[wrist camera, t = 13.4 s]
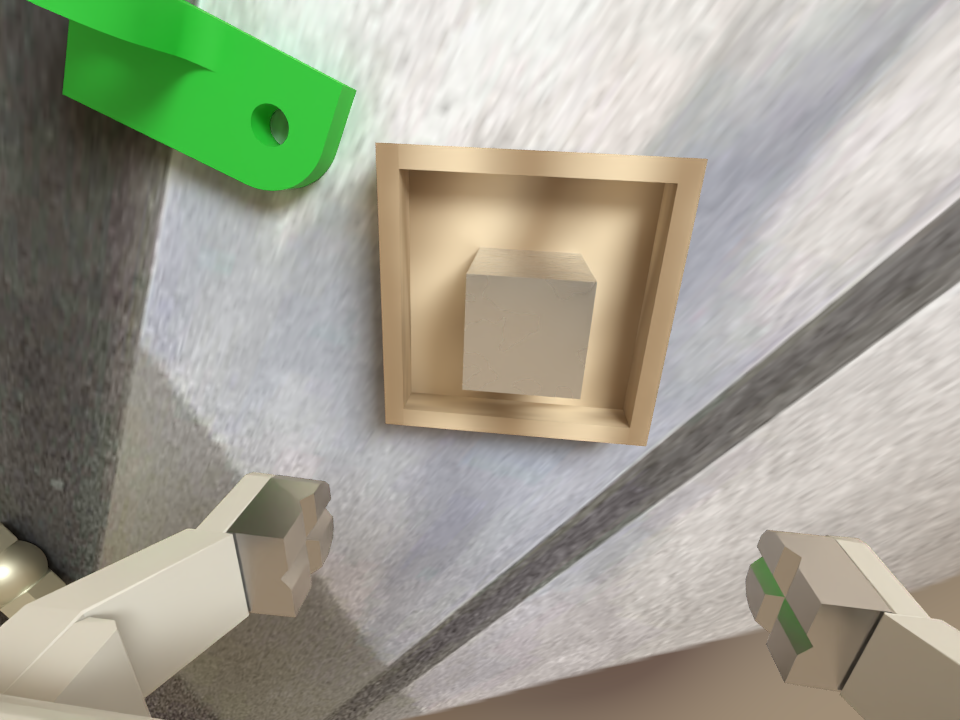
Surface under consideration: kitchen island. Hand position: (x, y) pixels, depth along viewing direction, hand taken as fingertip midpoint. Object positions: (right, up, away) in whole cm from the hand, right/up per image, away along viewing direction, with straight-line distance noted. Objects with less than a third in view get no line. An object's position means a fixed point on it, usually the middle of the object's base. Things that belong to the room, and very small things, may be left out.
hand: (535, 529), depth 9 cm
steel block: (+1, +6, +16) cm, 17 cm away
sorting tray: (+1, +7, +17) cm, 18 cm away
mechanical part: (-14, +16, +14) cm, 26 cm away
